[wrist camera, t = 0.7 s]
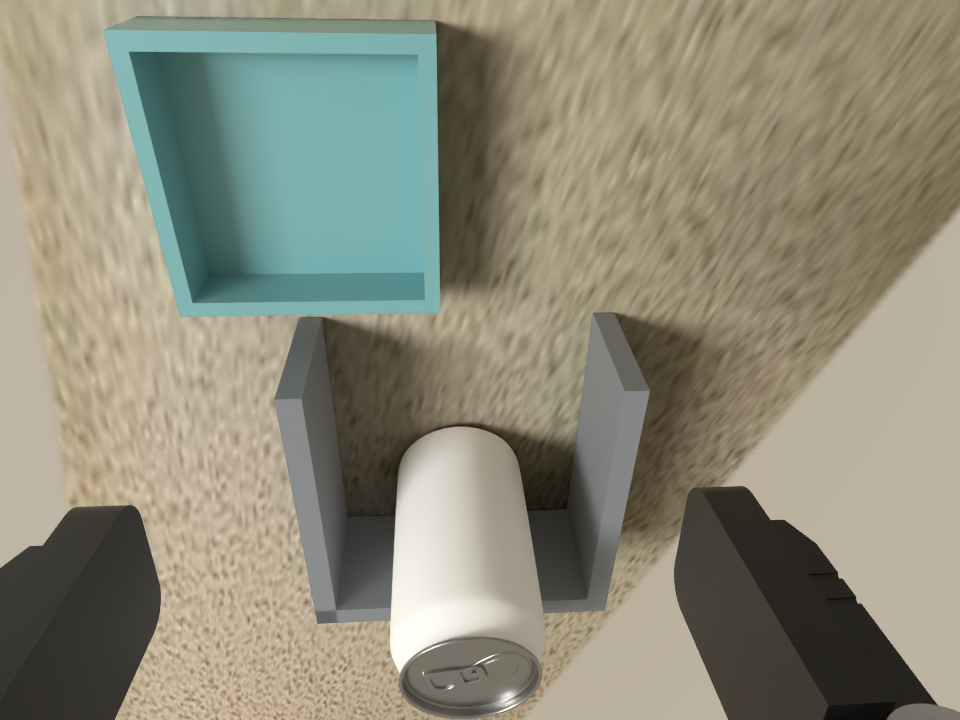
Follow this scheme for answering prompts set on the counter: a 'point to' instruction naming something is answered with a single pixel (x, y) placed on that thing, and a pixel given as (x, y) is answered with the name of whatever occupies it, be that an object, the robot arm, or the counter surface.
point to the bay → (555, 533)
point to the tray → (287, 160)
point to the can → (464, 578)
